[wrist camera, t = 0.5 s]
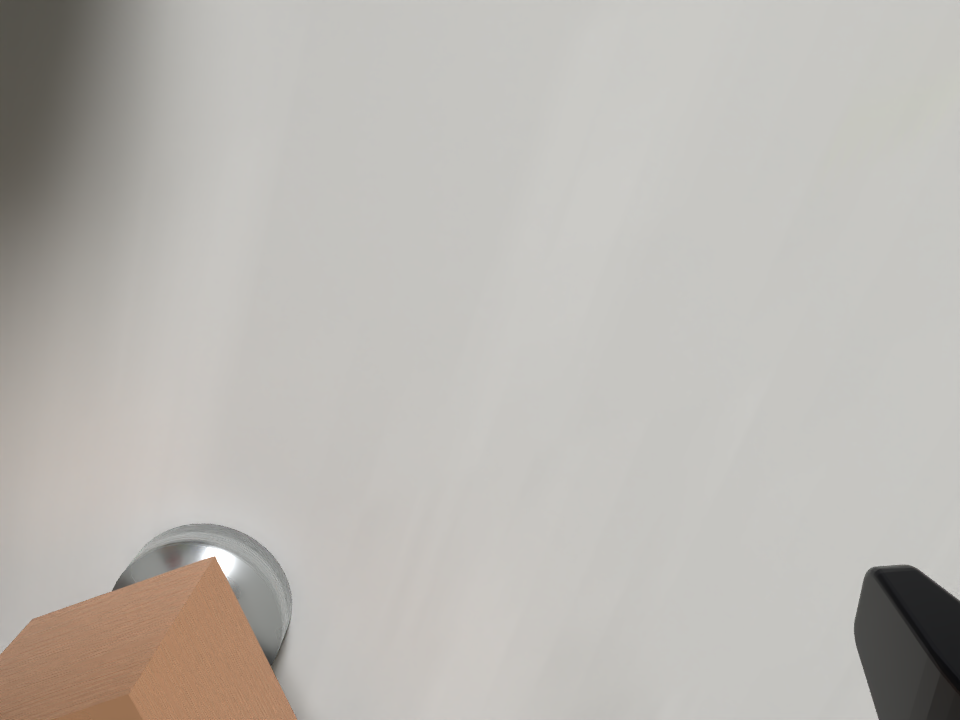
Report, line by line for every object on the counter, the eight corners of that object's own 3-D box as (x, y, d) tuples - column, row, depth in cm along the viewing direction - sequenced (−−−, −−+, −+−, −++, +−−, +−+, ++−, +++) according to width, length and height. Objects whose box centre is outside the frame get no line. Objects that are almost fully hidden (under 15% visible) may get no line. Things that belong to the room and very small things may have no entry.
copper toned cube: (322, 645, 25) (241, 899, 17) (168, 696, 25) (18, 967, 17) (252, 496, 23) (128, 694, 15) (92, 553, 24) (-107, 772, 16)
